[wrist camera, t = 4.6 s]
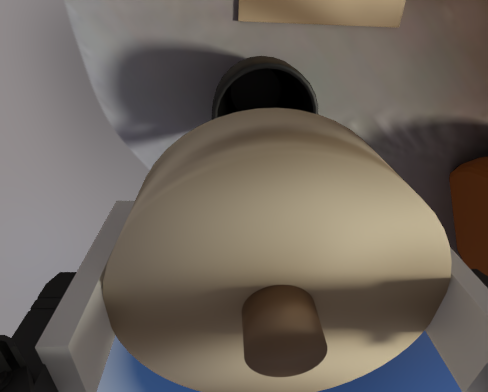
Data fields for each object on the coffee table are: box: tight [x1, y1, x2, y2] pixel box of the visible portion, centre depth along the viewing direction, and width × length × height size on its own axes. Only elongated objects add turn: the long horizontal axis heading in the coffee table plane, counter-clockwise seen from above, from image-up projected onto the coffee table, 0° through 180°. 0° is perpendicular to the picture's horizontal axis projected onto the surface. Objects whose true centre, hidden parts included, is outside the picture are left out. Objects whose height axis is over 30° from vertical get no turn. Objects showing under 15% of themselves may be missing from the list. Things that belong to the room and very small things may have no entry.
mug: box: [212, 56, 318, 120], centre depth 29 cm, size 8×12×10 cm
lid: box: [103, 108, 452, 392], centre depth 11 cm, size 11×11×6 cm
